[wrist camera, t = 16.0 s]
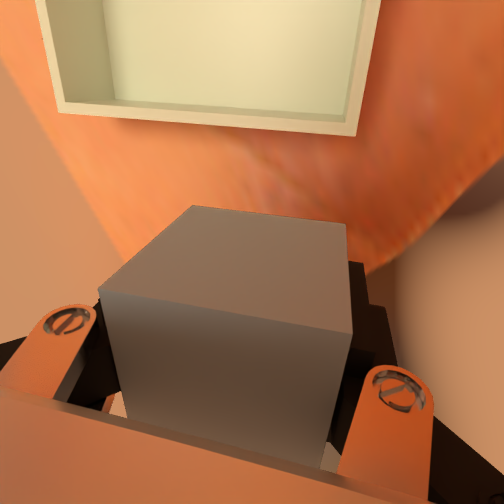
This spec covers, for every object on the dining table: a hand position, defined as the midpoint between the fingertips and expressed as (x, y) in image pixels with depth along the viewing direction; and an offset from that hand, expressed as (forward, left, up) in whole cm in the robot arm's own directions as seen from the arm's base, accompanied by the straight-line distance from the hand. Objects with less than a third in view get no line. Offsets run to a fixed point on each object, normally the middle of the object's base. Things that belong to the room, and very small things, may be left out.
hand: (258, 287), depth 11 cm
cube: (0, 0, -1) cm, 1 cm away
